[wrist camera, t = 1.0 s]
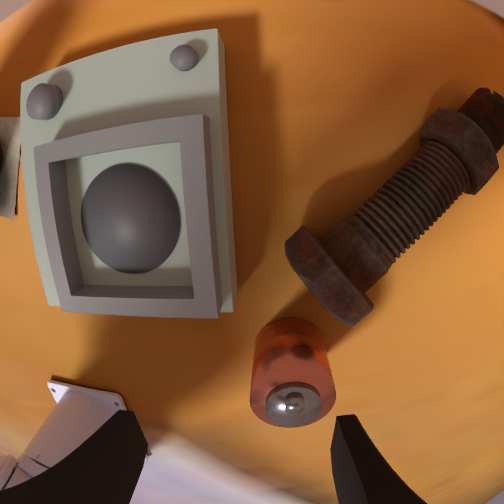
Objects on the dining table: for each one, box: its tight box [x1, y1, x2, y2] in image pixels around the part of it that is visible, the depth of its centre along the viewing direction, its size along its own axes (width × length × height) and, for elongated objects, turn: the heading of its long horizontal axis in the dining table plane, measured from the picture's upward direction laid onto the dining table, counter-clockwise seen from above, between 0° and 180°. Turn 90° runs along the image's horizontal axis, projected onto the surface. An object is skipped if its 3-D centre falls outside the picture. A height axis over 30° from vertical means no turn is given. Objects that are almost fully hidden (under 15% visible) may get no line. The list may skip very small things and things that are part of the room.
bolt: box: [285, 88, 504, 327], centre depth 14 cm, size 6×5×15 cm
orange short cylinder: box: [250, 317, 336, 428], centre depth 16 cm, size 4×4×6 cm
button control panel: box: [20, 28, 238, 318], centre depth 15 cm, size 14×12×4 cm
